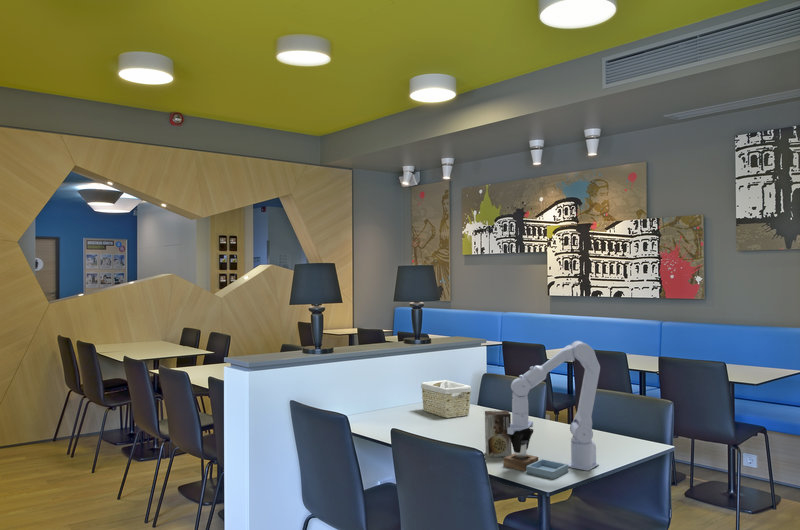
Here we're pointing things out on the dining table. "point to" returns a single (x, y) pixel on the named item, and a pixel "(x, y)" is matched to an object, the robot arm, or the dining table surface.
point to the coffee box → (497, 433)
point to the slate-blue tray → (547, 469)
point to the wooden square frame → (518, 462)
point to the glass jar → (522, 451)
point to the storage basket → (446, 398)
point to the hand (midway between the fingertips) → (520, 450)
